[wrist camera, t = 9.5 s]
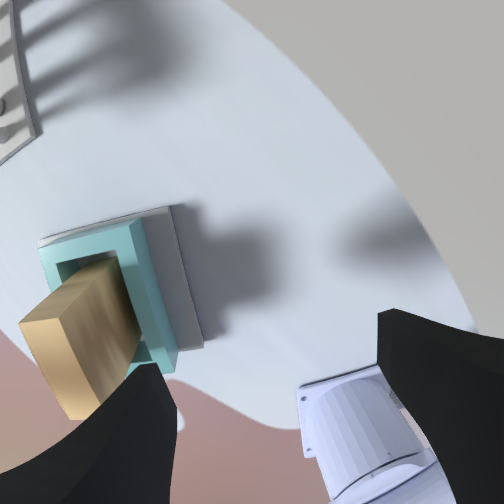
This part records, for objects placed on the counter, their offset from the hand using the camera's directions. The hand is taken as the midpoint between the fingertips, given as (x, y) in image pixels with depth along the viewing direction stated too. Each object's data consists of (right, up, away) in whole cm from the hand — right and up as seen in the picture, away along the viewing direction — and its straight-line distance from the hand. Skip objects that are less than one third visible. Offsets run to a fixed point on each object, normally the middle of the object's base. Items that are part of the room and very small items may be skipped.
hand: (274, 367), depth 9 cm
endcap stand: (-9, +1, +9) cm, 13 cm away
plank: (-9, +1, +8) cm, 12 cm away
